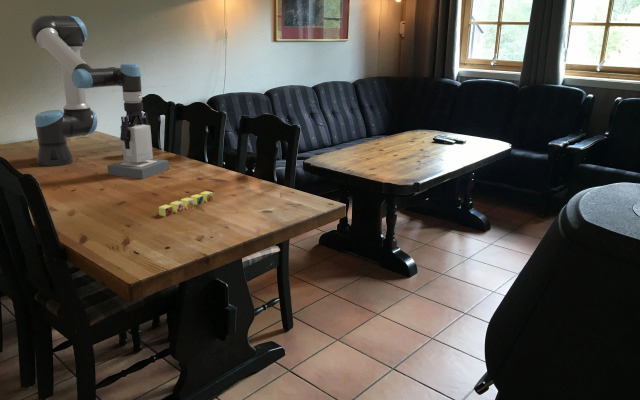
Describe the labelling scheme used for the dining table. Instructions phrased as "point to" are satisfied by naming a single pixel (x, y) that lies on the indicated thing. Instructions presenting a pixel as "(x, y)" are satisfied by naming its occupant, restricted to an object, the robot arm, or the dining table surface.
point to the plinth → (138, 168)
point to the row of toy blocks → (185, 203)
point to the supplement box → (139, 144)
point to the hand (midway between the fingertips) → (137, 153)
